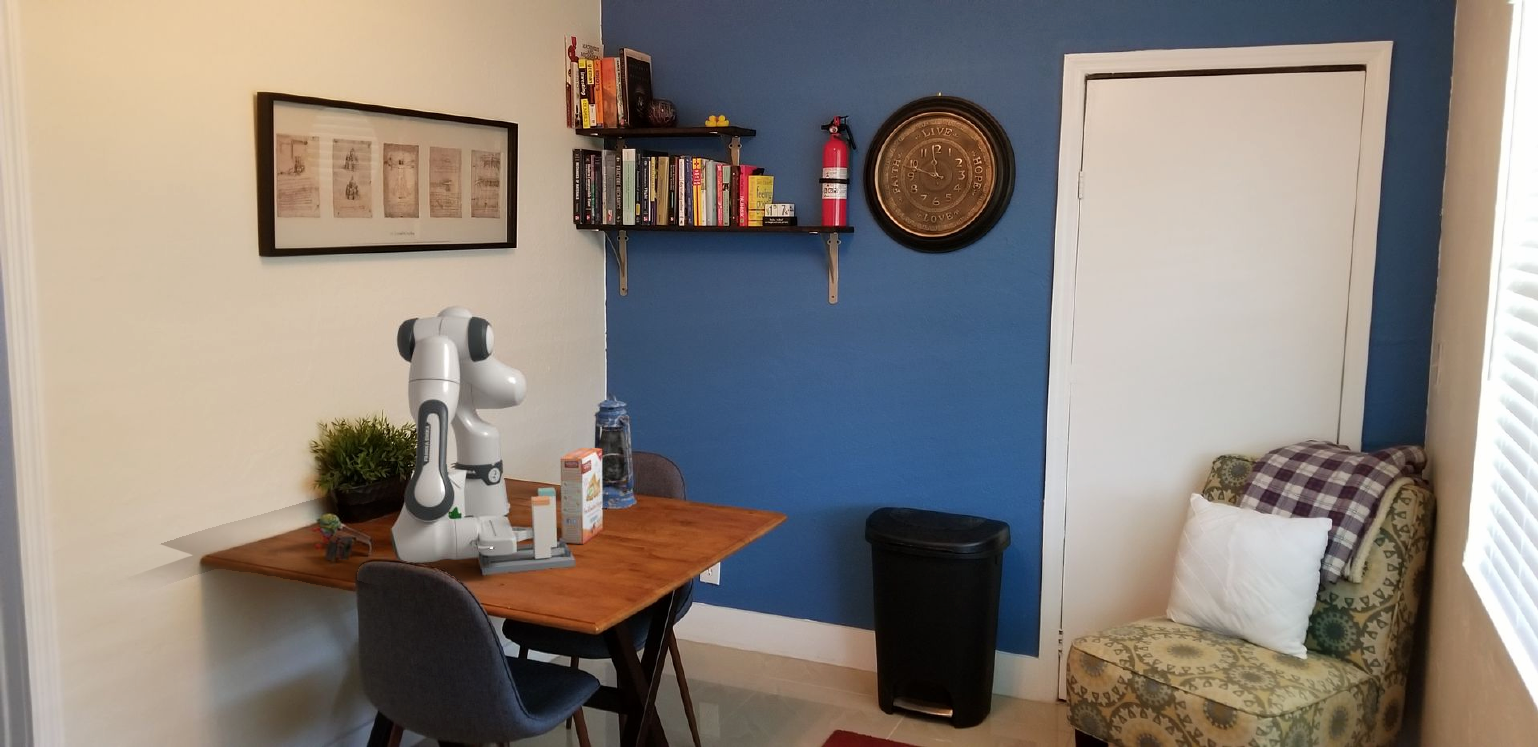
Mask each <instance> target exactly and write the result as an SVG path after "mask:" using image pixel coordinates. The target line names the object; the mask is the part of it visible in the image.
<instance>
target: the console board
mask: <svg viewBox="0 0 1538 747" xmlns="http://www.w3.org/2000/svg"><path fill="white" fill-rule="evenodd" d="M558 539H559V540H558V541H557V547H551V557H549V558H539V559H535V557H534V555H533V543H530V544H518V545H517V552H516V553H514V554H511V555H493V556H487V555H482V554H481V553H480V552H479V556H478V558H477V559H478V563H479V566H480V570H482V571H481V574H482V576H486V575H487V576H488V575H499V574H510V573H509V572H511V573H520V572H529V571H530V572H531V571H539V570H550V568H552V569H561V568H570V567H572V568H573V567H576V559H575V557H574V555H573V554H572V550H571V548H570V546H568V545H567V543H566V541H565V539H564V538H562V537H560V538H558Z"/></svg>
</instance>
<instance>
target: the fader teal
mask: <svg viewBox="0 0 1538 747" xmlns="http://www.w3.org/2000/svg"><path fill="white" fill-rule="evenodd" d="M556 492H557V491H556V489H555V488H554V487H542V488H541V487H540V488H537V497H538V496H548V497H549V499H550V533H551V547H557V542H558V538H557V537H558V536H557V532H558V531H557V502H556V501H557V500H556V499H557V498H556V496H557V493H556Z"/></svg>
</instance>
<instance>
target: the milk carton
mask: <svg viewBox="0 0 1538 747" xmlns="http://www.w3.org/2000/svg"><path fill="white" fill-rule="evenodd" d="M446 468H447V474H448V477H449V479H450V481H451V483H452V486H453V489H454V502H453V505H452V507H451V509H450V510H449V512H448V516H449V518H450V519H460V518H463V517H464V516H465V501H464V485H465V478H466V471H467V470H455V469H454V468H448V465H447V464H446Z"/></svg>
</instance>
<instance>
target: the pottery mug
mask: <svg viewBox="0 0 1538 747" xmlns="http://www.w3.org/2000/svg"><path fill="white" fill-rule="evenodd" d="M339 539H340V541H339V542H338V540H339ZM372 540H373V537H372V536H371V535H369V534H367V533H364V532H362V531H359V530H357V529H355V528H352V527H349V526H347V525H346V526H343V527H342V529H341V530H340V531H338V532H336V533H335V534H333V536H332V537H331V539H330V541H329V543H327V547H326V551H325V552H326V553H325V557H324V558H325V559H326V560H328V561H330V562H332V563H336V562H337V558H338V559H339V560H348V559H349V556H350V552H351V551H352V550H353V549H352V548H353V547H354V545H355V541H356V542H358V543H361V544H362V545H363V546H366V547H368V550H367V553H366V554H367V556H368V557H369V556H371V553H372V543H371V542H372Z"/></svg>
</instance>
